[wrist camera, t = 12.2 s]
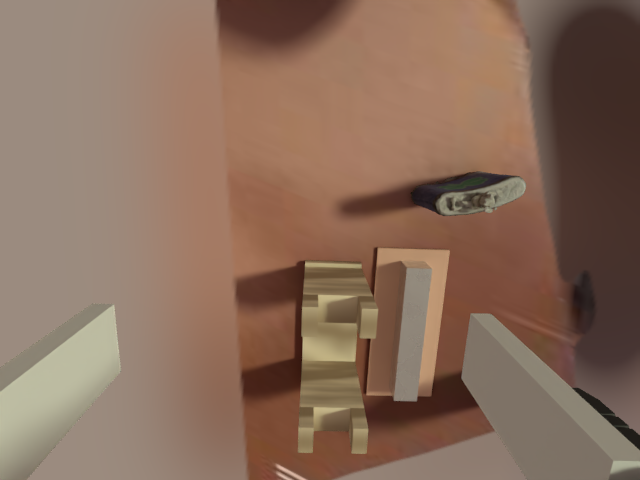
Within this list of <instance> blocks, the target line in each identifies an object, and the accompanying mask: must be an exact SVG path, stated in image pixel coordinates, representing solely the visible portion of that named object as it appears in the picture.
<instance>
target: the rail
mask: <svg viewBox="0 0 640 480" xmlns="http://www.w3.org/2000/svg"><path fill="white" fill-rule="evenodd" d="M431 275H432V268H431V267H430V266H429V265H428V264H427V263H426V262H425V261H401V265H400V276H399V286H398V297H397V307H396V318H395V328H394V339H393V350H392V360H391V371H390V381H389V388H390V391H391V394H392V397H393V400H394V401H417V395H418V386H419V378H420V369H421V361H422V352H423V344H424V335H425V327H426V318H427V309H428V301H429V292H430V284H431Z"/></svg>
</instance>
